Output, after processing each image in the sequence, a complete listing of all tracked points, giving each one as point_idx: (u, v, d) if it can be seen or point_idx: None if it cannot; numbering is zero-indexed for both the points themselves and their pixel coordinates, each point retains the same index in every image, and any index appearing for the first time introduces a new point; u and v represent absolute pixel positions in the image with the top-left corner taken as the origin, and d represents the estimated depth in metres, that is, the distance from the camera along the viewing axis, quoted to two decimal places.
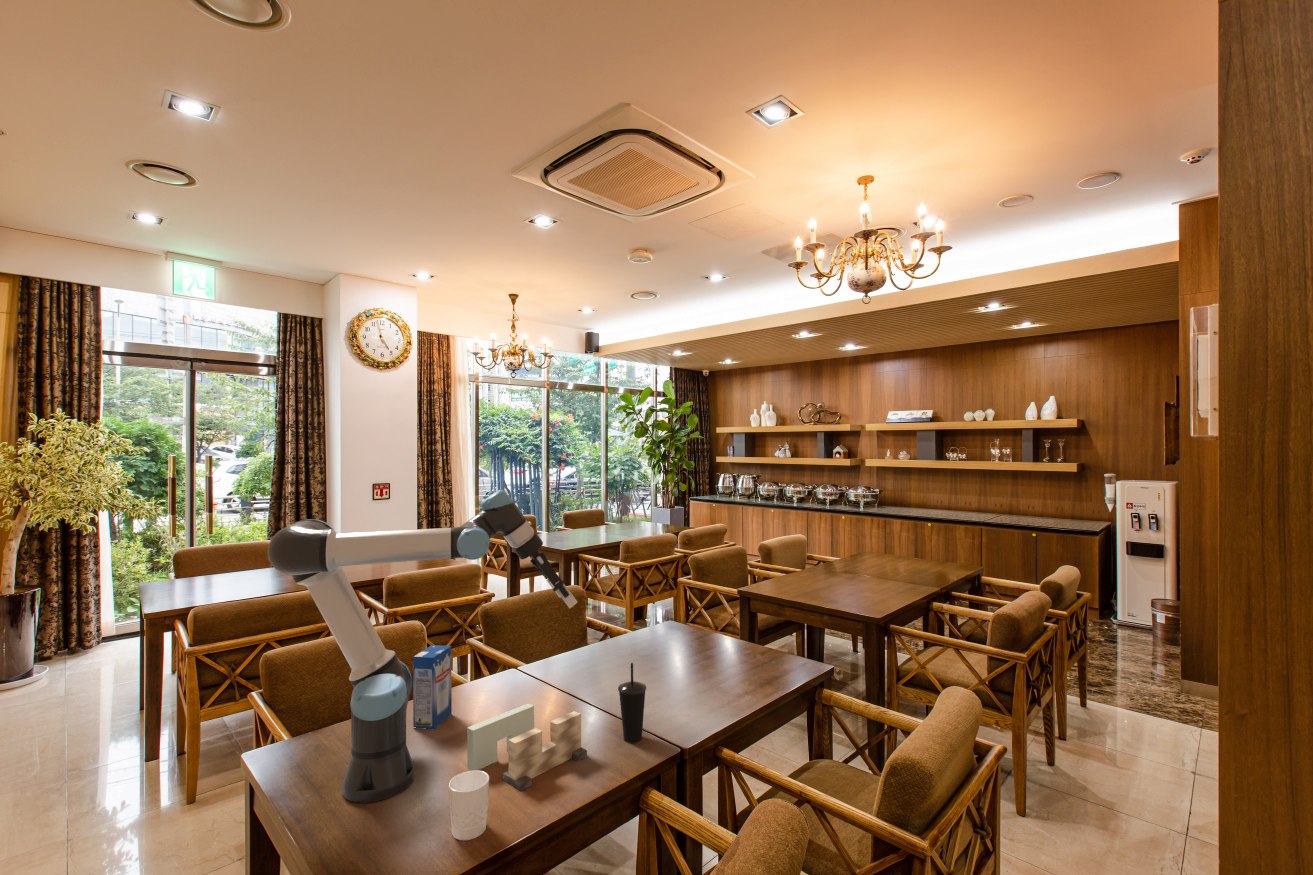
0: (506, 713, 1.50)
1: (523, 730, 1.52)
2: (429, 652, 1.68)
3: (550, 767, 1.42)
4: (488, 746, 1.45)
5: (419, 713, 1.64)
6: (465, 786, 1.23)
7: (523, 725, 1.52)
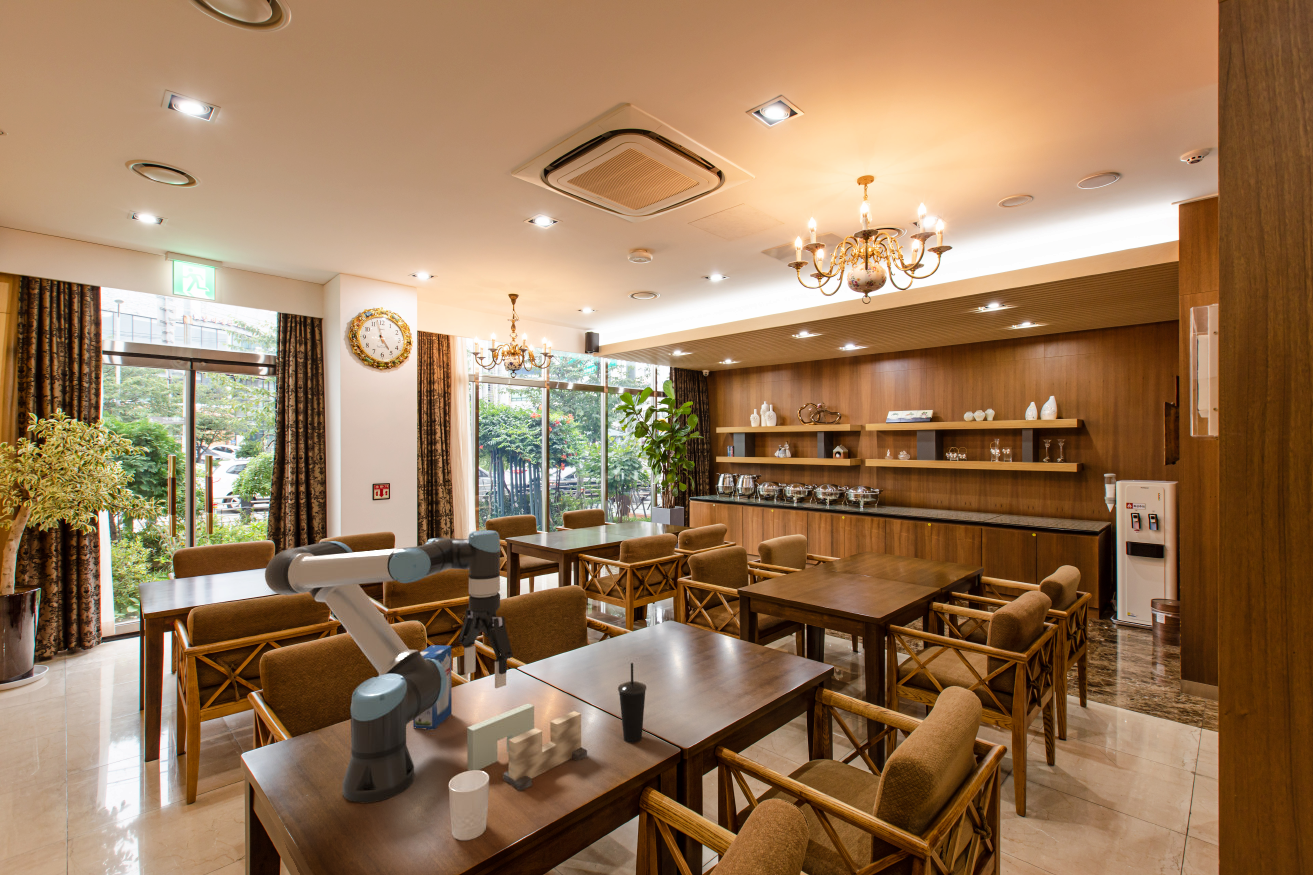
0: (506, 713, 1.50)
1: (523, 730, 1.52)
2: (429, 652, 1.68)
3: (550, 767, 1.42)
4: (488, 746, 1.45)
5: None
6: (465, 786, 1.23)
7: (523, 725, 1.52)
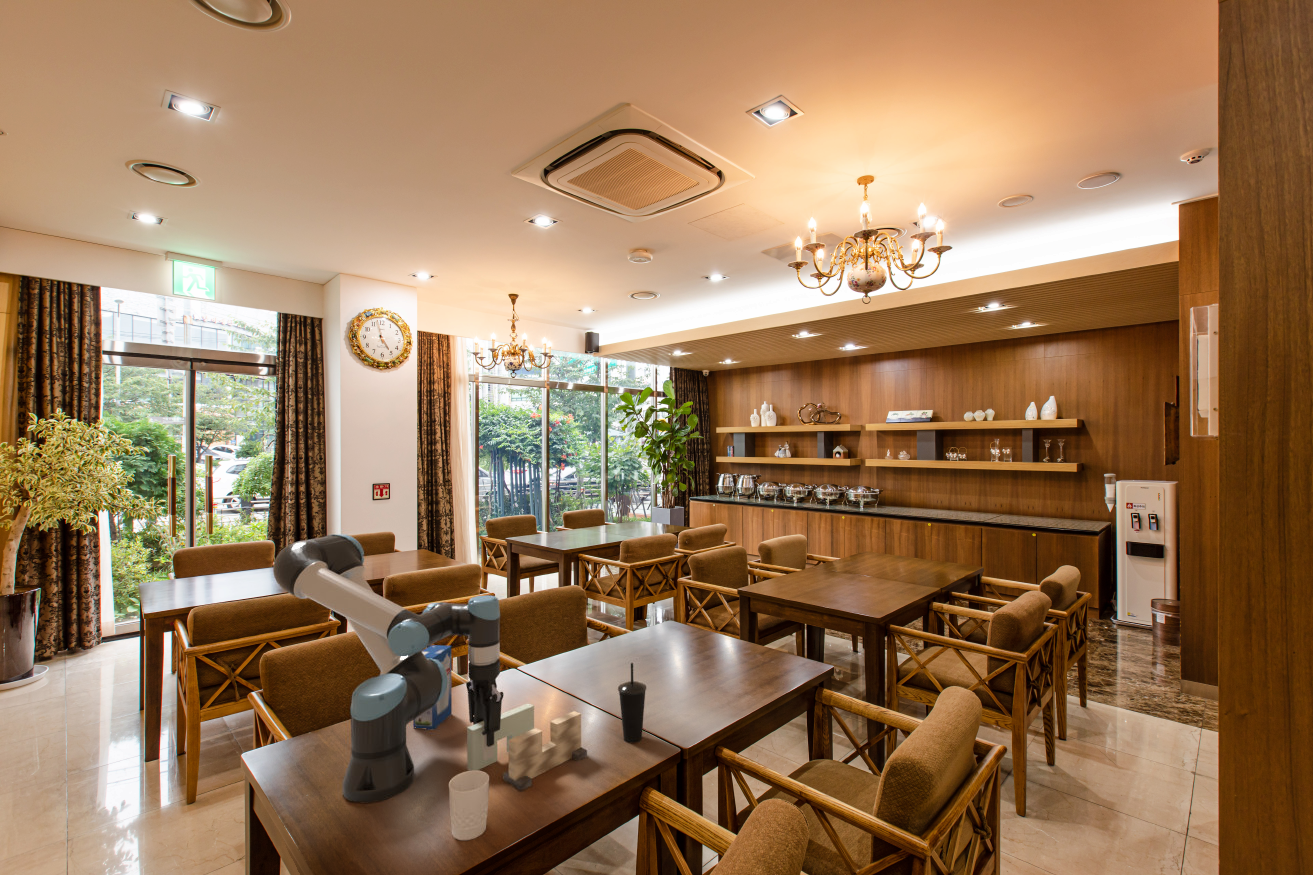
0: (506, 713, 1.50)
1: (523, 730, 1.52)
2: (429, 652, 1.68)
3: (550, 767, 1.42)
4: None
5: None
6: (465, 786, 1.23)
7: (523, 725, 1.52)
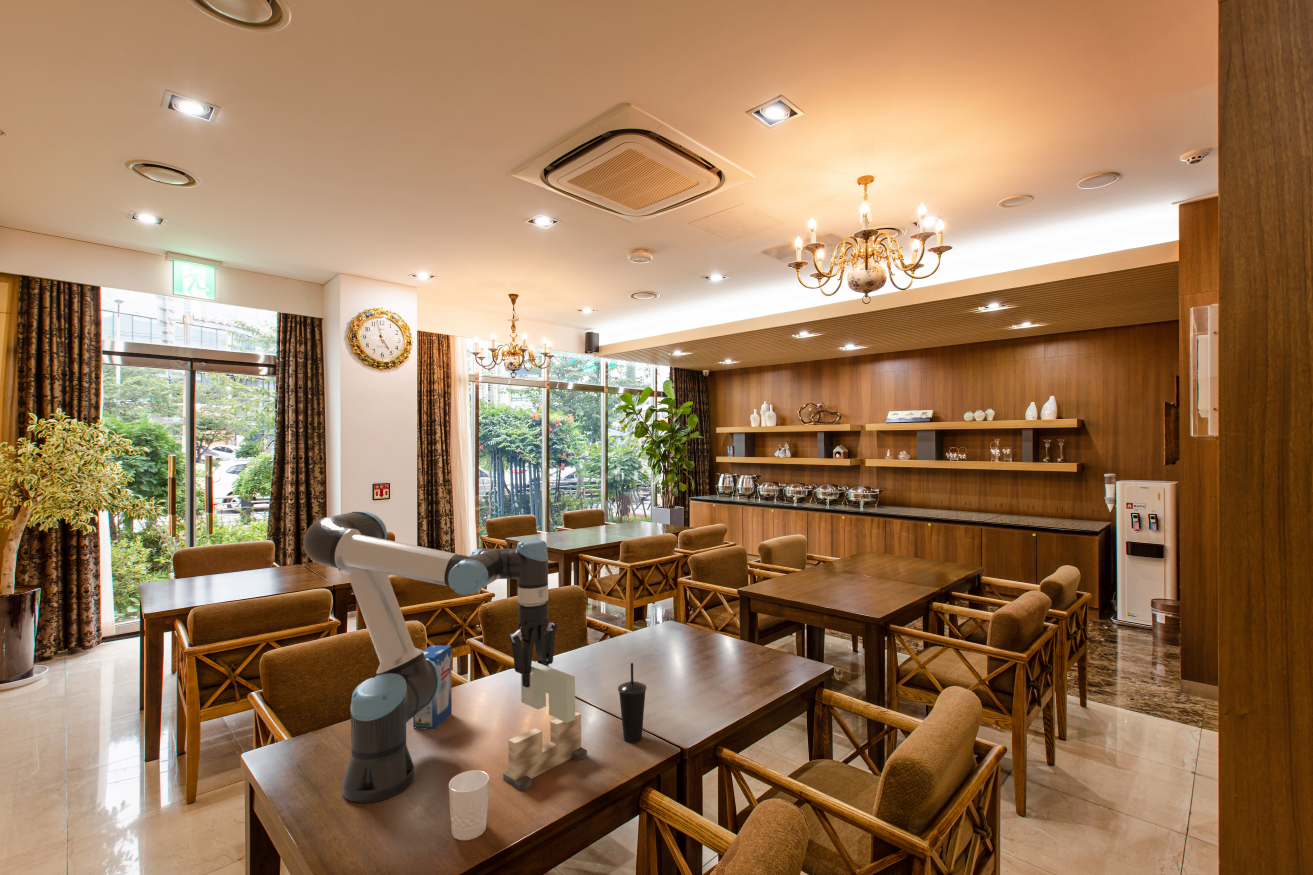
0: (552, 670, 1.43)
1: (557, 698, 1.39)
2: (429, 652, 1.68)
3: (550, 767, 1.42)
4: None
5: (419, 713, 1.64)
6: (465, 786, 1.23)
7: (557, 693, 1.39)
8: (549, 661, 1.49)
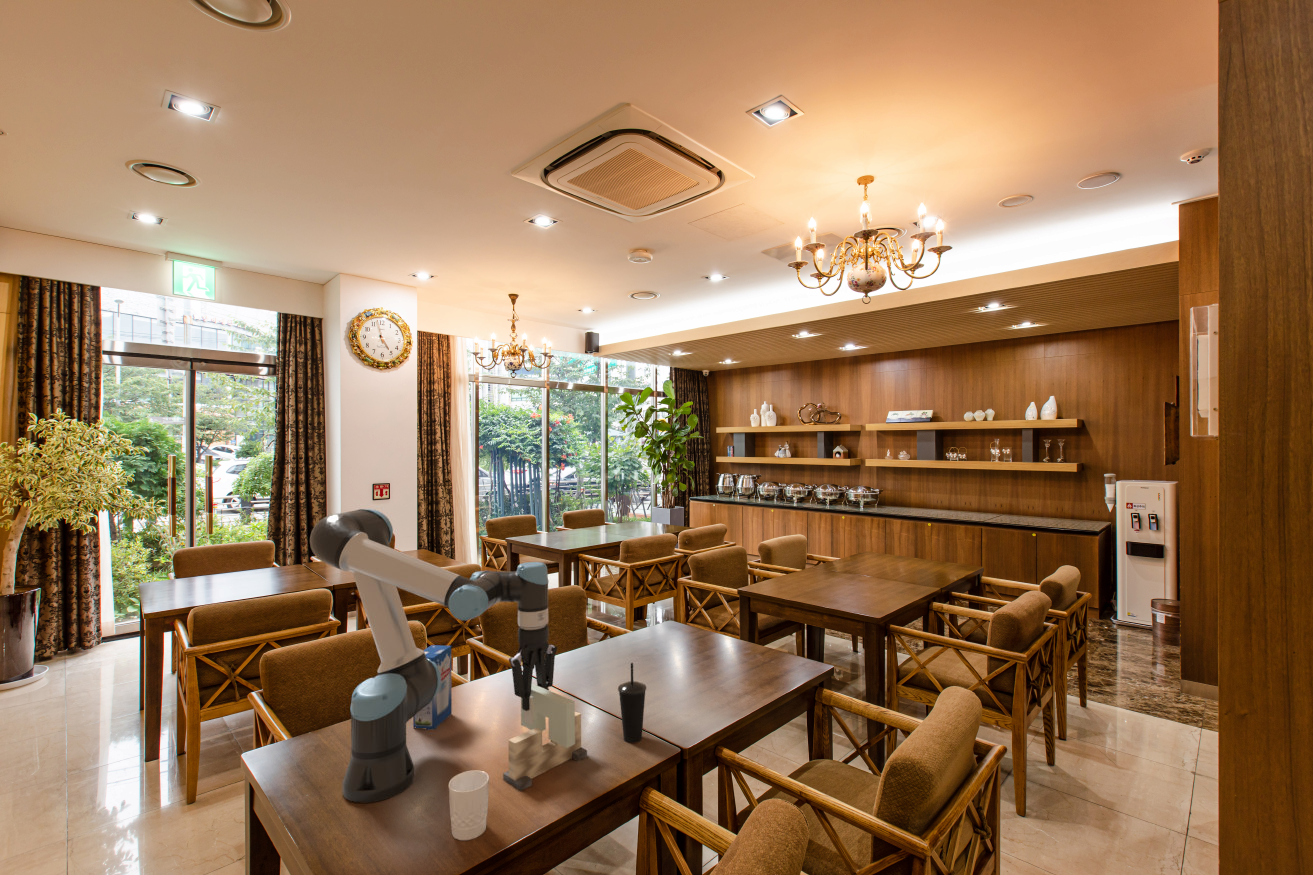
0: (552, 694, 1.43)
1: (557, 723, 1.39)
2: (429, 652, 1.68)
3: (550, 767, 1.42)
4: None
5: (419, 713, 1.64)
6: (465, 786, 1.23)
7: (557, 717, 1.39)
8: (549, 684, 1.49)
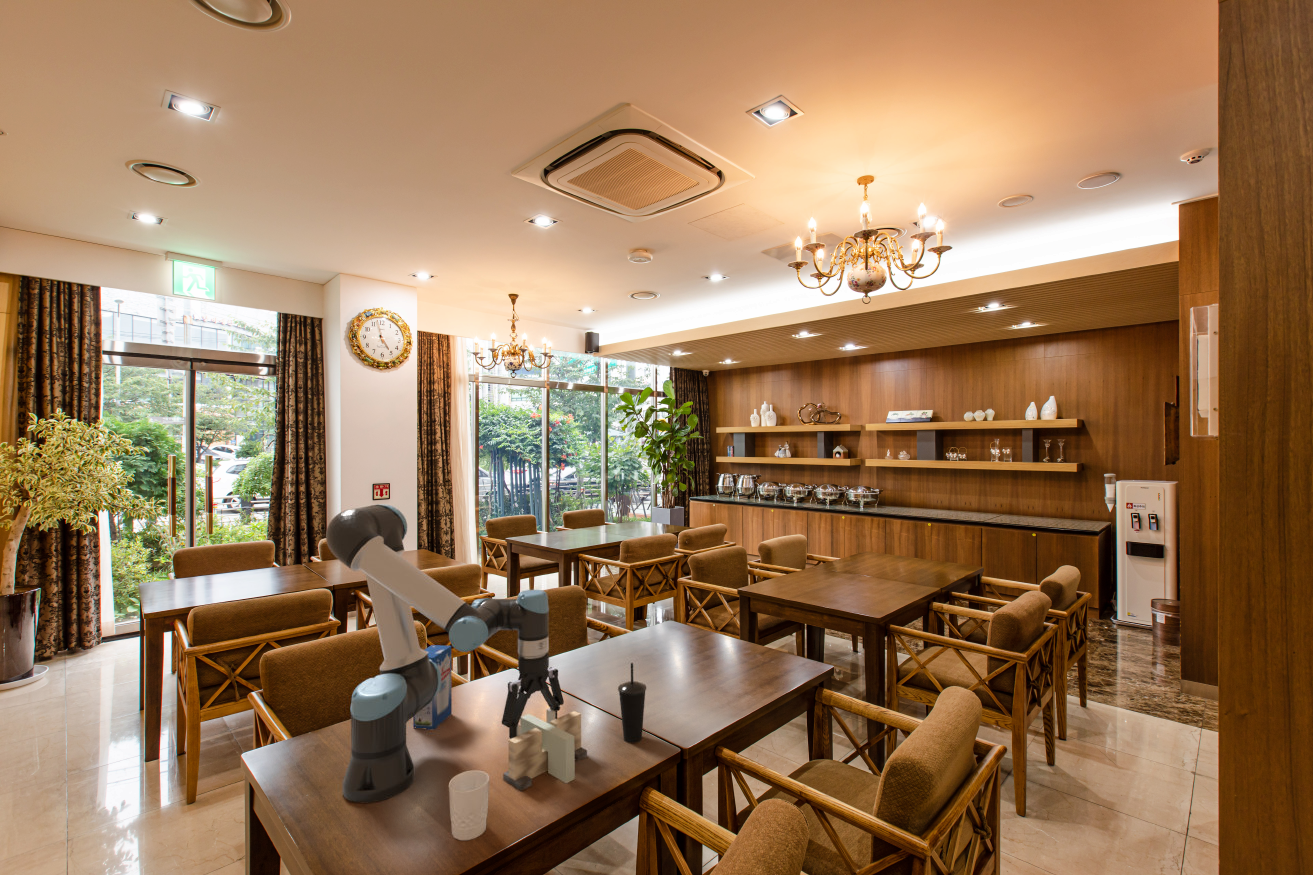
0: (552, 727, 1.43)
1: (556, 757, 1.39)
2: (429, 652, 1.68)
3: None
4: None
5: (419, 713, 1.64)
6: (465, 786, 1.23)
7: (557, 752, 1.39)
8: (560, 703, 1.52)
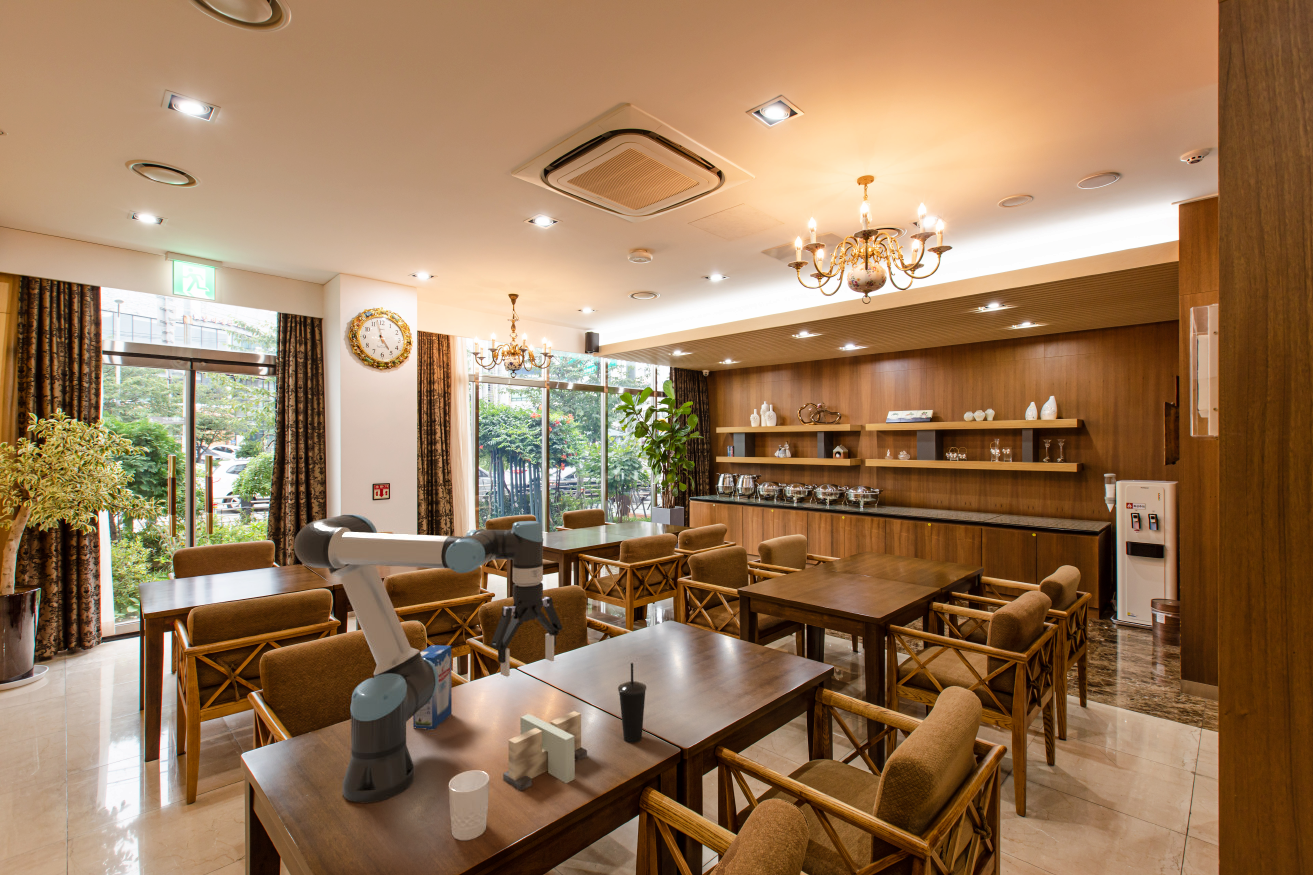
0: (552, 727, 1.43)
1: (556, 757, 1.39)
2: (429, 652, 1.68)
3: None
4: None
5: (419, 713, 1.64)
6: (465, 786, 1.23)
7: (557, 752, 1.39)
8: (559, 629, 1.54)
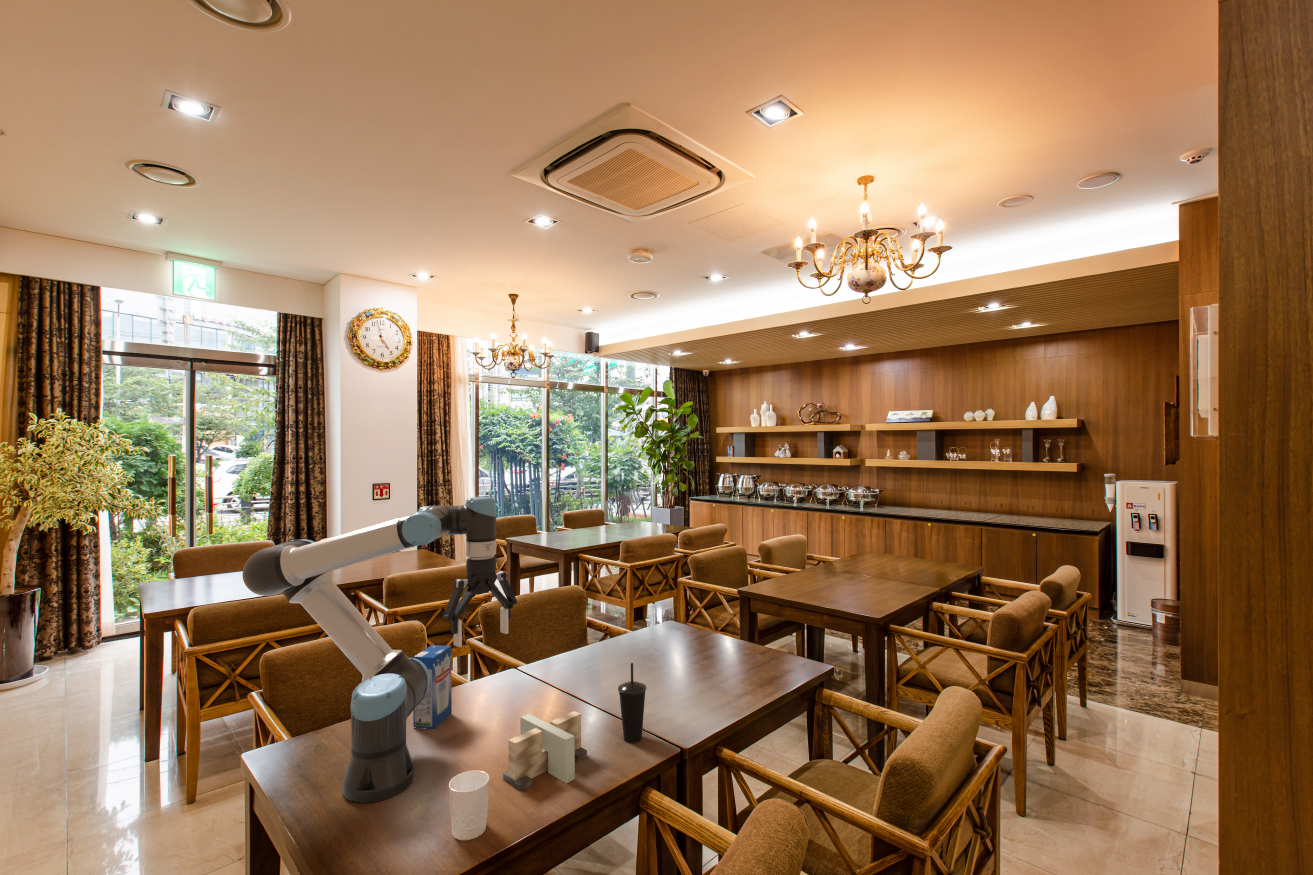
0: (552, 727, 1.43)
1: (556, 757, 1.39)
2: (429, 652, 1.68)
3: None
4: None
5: (419, 713, 1.64)
6: (465, 786, 1.23)
7: (557, 752, 1.39)
8: (513, 602, 1.58)
